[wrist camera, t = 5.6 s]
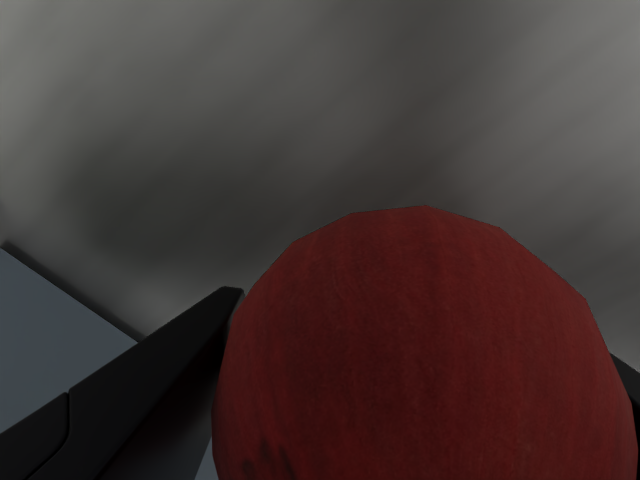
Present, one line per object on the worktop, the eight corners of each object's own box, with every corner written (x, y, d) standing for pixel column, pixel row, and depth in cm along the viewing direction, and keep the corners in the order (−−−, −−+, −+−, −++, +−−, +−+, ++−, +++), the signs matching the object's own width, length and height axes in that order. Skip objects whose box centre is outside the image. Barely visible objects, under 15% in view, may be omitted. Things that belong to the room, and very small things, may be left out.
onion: (344, 386, 12) (324, 925, 5) (217, 228, 10) (-139, 780, 3) (554, 306, 10) (1007, 990, 3) (453, 90, 8) (1180, 702, 1)
